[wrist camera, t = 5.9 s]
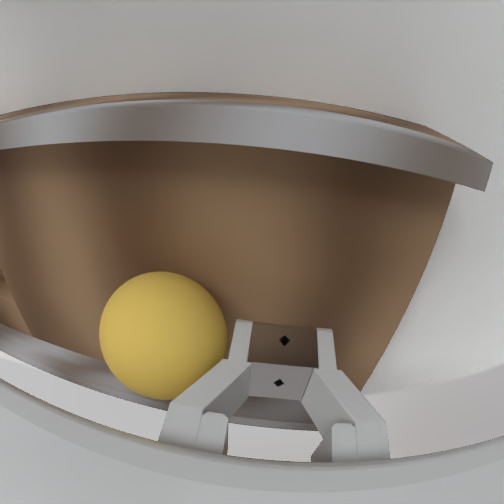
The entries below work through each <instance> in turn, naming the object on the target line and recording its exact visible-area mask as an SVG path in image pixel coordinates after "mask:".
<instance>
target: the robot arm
mask: <svg viewBox="0 0 504 504" xmlns="http://www.w3.org/2000/svg"><path fill="white" fill-rule="evenodd" d="M248 396H257V397H269V398H280V399H289V400H300V401H301V403H302V404H303V406H304V408H305V409H306V411H307V413H308V414H309V416H310V418H311V419H312V421H313V422H314V424H315V426H316V427H317V429H318V431H319V432H320V434H321V435H322V437H323V441H322V442H321V443H320V445H319V446H318V447H317V449H316V450H315V451H314V453H313V454H312V456H311V462H290V461H274V460H263V459H262V460H261V459H253V458H244V457H236V456H228V455H227V450H228V419H229V418H230V417H231V416H232V415H233V414H234V413H235V412H236V410H237V409H238V408H239V407H240V406H241V405H242V404H243V403H244V402H245V400H246V399H247V398H248ZM0 504H504V436H501V437H498V438H494V439H492V440H488V441H484V442H480V443H477V444H473V445H469V446H465V447H460V448H456V449H451V450H446V451H441V452H436V453H430V454H425V455H418V456H411V457H403V458H395V459H390V452H389V444H388V436H387V429H386V422H385V420H384V419H383V418H382V417H381V416H380V414H379V413H378V412H377V411H376V410H375V409H374V407H373V406H372V405H371V404H370V403H369V402H368V401H367V399H366V398H365V397H364V396H363V395H362V393H361V392H360V391H359V390H358V389H357V388H356V386H355V385H354V384H353V383H352V382H351V381H350V379H349V378H348V377H347V376H346V375H345V374H344V372H343V371H342V370H337V365H336V355H335V346H334V337H333V331H332V329H327V328H314V327H302V326H290V325H279V324H271V323H264V322H257V321H248V320H241V319H237V321H236V323H235V328H234V333H233V337H232V342H231V347H230V352H229V357H228V359H222V360H221V361H220V362H219V363H218V364H217V365H215V366H214V367H213V368H212V369H211V370H209V371H208V372H207V373H206V374H205V375H203V376H202V377H201V378H200V379H199V380H197V381H196V382H195V383H194V384H193V385H191V386H190V387H189V388H188V389H186V390H185V391H184V392H183V393H181V394H180V395H179V396H178V397H177V398H175V399H174V400H173V401H172V402H170V404H169V408H168V411H167V414H166V417H165V420H164V423H163V427H162V430H161V433H160V436H159V440H158V441H154V440H150V439H146V438H143V437H139V436H136V435H132V434H129V433H126V432H123V431H119V430H116V429H113V428H110V427H107V426H104V425H102V424H98V423H96V422H93V421H90V420H88V419H85V418H83V417H80V416H77V415H75V414H72V413H70V412H68V411H65V410H63V409H61V408H58V407H56V406H53V405H51V404H49V403H47V402H45V401H43V400H41V399H39V398H36V397H34V396H32V395H30V394H28V393H26V392H24V391H22V390H21V389H19V388H17V387H15V386H13V385H11V384H9V383H7V382H5V381H4V380H2V379H0Z"/></svg>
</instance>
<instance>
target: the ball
mask: <svg viewBox="0 0 504 504" xmlns="http://www.w3.org/2000/svg"><path fill="white" fill-rule="evenodd" d="M99 340H100V346H101V350H102V353H103V356H104V359H105V361H106V363H107V365H108V367H109V369H110V370H111V371H112V373H113V374H114V375H115V377H116V378H117V379H118V380H119V381H120V382H121V383H122V384H124V385H125V386H126V387H128V388H129V389H131V390H132V391H134V392H136V393H138V394H140V395H143V396H145V397H149V398H153V399H160V400H172V399H175V398H177V397H178V396H179V395H180V394H181V393H183V392H184V391H185V390H186V389H188V388H189V387H190V386H191V385H193V384H194V383H195V382H196V381H197V380H199V379H200V378H201V377H202V376H203V375H205V374H206V373H207V372H208V371H209V370H211V369H212V368H213V367H214V366H215V365H217V364H218V363H219V362H220V361H221V360H222V359H224V356H225V353H226V347H227V328H226V323H225V319H224V316H223V314H222V311H221V309H220V308H219V306H218V304H217V302H216V301H215V299H214V298H213V297H212V295H211V294H210V293H209V292H208V291H207V290H206V289H205V288H204V287H202V286H201V285H200V284H198V283H197V282H195V281H194V280H192V279H190V278H188V277H185V276H183V275H180V274H176V273H172V272H158V271H157V272H149V273H145V274H141V275H139V276H136V277H134V278H132V279H130V280H128V281H127V282H125V283H124V284H123V285H121V286H120V287H119V288H118V289H117V290H116V291H115V292H114V293H113V295H112V296H111V297H110V299H109V300H108V302H107V304H106V306H105V308H104V310H103V313H102V316H101V321H100V326H99Z"/></svg>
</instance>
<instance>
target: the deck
mask: <svg viewBox="0 0 504 504" xmlns="http://www.w3.org/2000/svg"><path fill="white" fill-rule="evenodd" d="M492 164H493V162H491V161H490V160H488V159H486V158H485V157H483V156H481V155H480V154H478V153H476V152H474V151H473V150H471V149H469V148H467V147H466V146H464V145H462V144H460V143H458V142H456V141H454V140H452V139H450V138H449V137H447V136H445V135H443V134H441V133H439V132H437V131H434V130H432V129H430V128H428V127H426V126H423V125H419V124H416V123H412V122H409V121H405V120H401V119H397V118H393V117H389V116H385V115H381V114H377V113H372V112H368V111H363V110H358V109H353V108H348V107H343V106H337V105H332V104H326V103H319V102H313V101H306V100H299V99H291V98H282V97H273V96H262V95H250V94H234V93H209V92H165V93H141V94H126V95H114V96H104V97H95V98H86V99H79V100H72V101H65V102H59V103H53V104H48V105H42V106H37V107H32V108H28V109H23V110H19V111H14V112H10V113H6V114H2V115H0V350H1V351H3V352H5V353H7V354H9V355H11V356H13V357H15V358H17V359H19V360H21V361H23V362H25V363H27V364H30V365H32V366H34V367H36V368H38V369H41V370H43V371H45V372H48V373H50V374H53V375H55V376H57V377H60V378H63V379H65V380H68V381H70V382H73V383H76V384H78V385H81V386H84V387H87V388H90V389H93V390H95V391H98V392H101V393H104V394H107V395H111V396H114V397H117V398H120V399H124V400H128V401H131V402H134V403H138V404H142V405H146V406H149V407H153V408H157V409H162V410H165V411H168V408H169V404H170V402H172V401H173V400H174V399H172V400H160V399H153V398H149V397H145V396H143V395H140V394H138V393H136V392H134V391H132V390H131V389H129V388H128V387H126V386H125V385H124V384H122V383H121V382H120V381H119V380H118V379H117V378H116V377H115V375H114V374H113V373H112V371H111V370H110V369H109V367H108V365H107V363H106V361H105V359H104V356H103V353H102V350H101V346H100V340H99V326H100V321H101V316H102V313H103V310H104V308H105V306H106V304H107V302H108V300H109V299H110V297H111V296H112V295H113V293H114V292H115V291H116V290H117V289H118V288H119V287H120V286H121V285H123V284H124V283H125V282H127V281H128V280H130V279H132V278H134V277H136V276H139V275H141V274H145V273H149V272H157V271H158V272H172V273H176V274H180V275H183V276H185V277H188V278H190V279H192V280H194V281H195V282H197V283H198V284H200V285H201V286H202V287H204V288H205V289H206V290H207V291H208V292H209V293H210V294H211V295H212V297H213V298H214V299H215V301H216V302H217V304H218V306H219V308H220V309H221V311H222V314H223V316H224V319H225V323H226V328H227V347H226V353H225V356H224V359H228V357H229V352H230V347H231V342H232V337H233V333H234V328H235V323H236V321H237V319H241V320H248V321H257V322H264V323H271V324H279V325H290V326H302V327H314V328H327V329H332V331H333V337H334V346H335V355H336V365H337V370H342V371H343V372H344V374H345V375H346V376H347V377H348V378H349V379H350V381H351V382H352V383H353V384H354V385H355V386H356V388H357V389H358V390H359V391H361V390H362V388H363V387H364V385H365V383H366V382H367V380H368V378H369V377H370V375H371V374H372V372H373V370H374V369H375V367H376V365H377V363H378V362H379V360H380V358H381V356H382V355H383V353H384V351H385V349H386V348H387V346H388V344H389V342H390V340H391V338H392V337H393V335H394V333H395V331H396V329H397V327H398V325H399V323H400V321H401V319H402V317H403V315H404V313H405V311H406V309H407V307H408V305H409V303H410V301H411V299H412V297H413V295H414V292H415V290H416V288H417V286H418V284H419V281H420V279H421V277H422V274H423V272H424V270H425V267H426V265H427V263H428V260H429V258H430V255H431V253H432V250H433V248H434V245H435V243H436V240H437V237H438V235H439V232H440V229H441V226H442V224H443V221H444V218H445V215H446V212H447V209H448V206H449V203H450V200H451V196H452V193H453V190H454V187H455V183H457V184H460V185H464V186H467V187H471V188H474V189H477V190H481V191H484V192H485V188H486V185H487V182H488V179H489V175H490V172H491V168H492ZM228 423H235V424H242V425H250V426H258V427H268V428H280V429H292V430H310V431H311V430H312V431H318V429H317V427H316V426H315V424H314V422H313V421H312V419H311V418H310V416H309V414H308V413H307V411H306V409H305V408H304V406H303V404H302V403H301V401H300V400H289V399H280V398H269V397H257V396H248V398H247V399H246V400H245V402H244V403H243V404H242V405H241V406H240V407H239V408H238V409H237V410H236V412H235V413H234V414H233V415H232V416H231V417H230V418H229V419H228Z"/></svg>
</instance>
